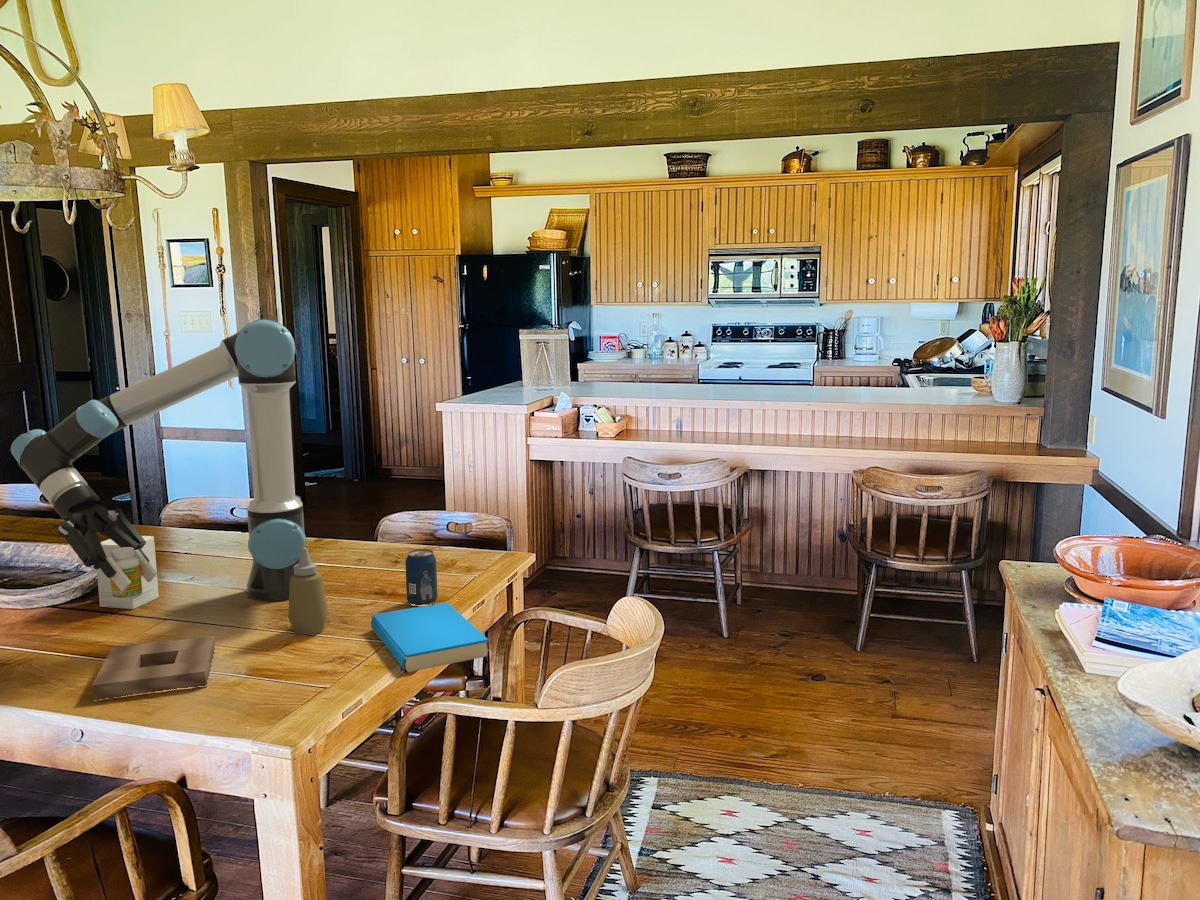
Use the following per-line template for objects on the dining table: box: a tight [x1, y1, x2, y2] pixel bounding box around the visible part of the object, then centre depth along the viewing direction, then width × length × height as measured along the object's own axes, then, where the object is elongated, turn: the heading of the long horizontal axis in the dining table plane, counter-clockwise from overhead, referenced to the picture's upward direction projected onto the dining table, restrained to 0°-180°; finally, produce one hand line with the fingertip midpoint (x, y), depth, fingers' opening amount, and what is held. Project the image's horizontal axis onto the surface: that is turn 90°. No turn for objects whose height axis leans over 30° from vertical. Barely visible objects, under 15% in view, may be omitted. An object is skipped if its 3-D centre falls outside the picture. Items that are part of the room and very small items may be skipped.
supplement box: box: [96, 535, 160, 610], centre depth 204 cm, size 9×9×15 cm
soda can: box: [404, 548, 439, 605], centre depth 203 cm, size 7×7×12 cm
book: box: [370, 601, 489, 673], centre depth 180 cm, size 17×4×25 cm
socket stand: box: [91, 635, 216, 701], centre depth 165 cm, size 18×18×3 cm
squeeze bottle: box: [287, 547, 329, 636], centre depth 186 cm, size 8×8×18 cm
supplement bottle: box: [110, 547, 142, 600], centre depth 177 cm, size 5×5×10 cm
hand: (139, 582), depth 175 cm, fingers closed on supplement bottle, 5 cm apart
